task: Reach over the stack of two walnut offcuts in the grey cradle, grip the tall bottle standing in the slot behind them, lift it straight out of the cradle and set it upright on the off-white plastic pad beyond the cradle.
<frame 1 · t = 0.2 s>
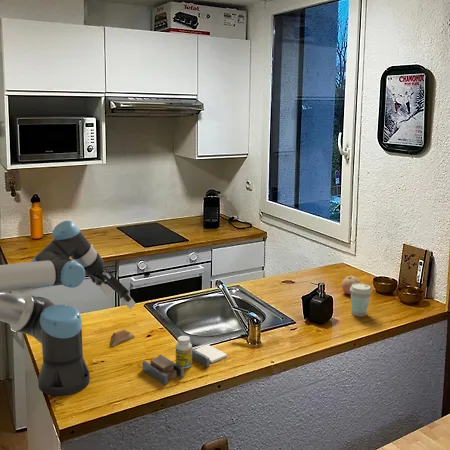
hand: (121, 300, 193), 15 cm above the counter, tool tilted 35°, fingers open, 13 cm apart
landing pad: (209, 354, 188), on the counter
offcut lower: (162, 374, 175), on the counter, touching offcut upper
grey cradle: (176, 368, 178), on the counter
offcut upper: (162, 367, 174), point 2 cm above the counter, touching offcut lower
supplement bottle: (183, 365, 180), on the counter
coffee cup: (358, 314, 225), on the counter
shard: (123, 341, 198), on the counter
fruit: (350, 294, 248), on the counter
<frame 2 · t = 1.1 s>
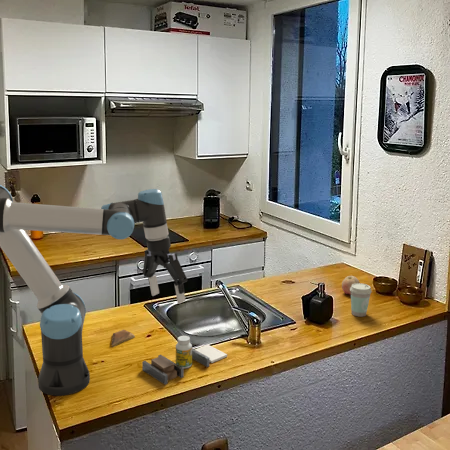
hand: (168, 298, 182), 21 cm above the counter, tool pointing down, fingers open, 13 cm apart
nothing on the counter moved.
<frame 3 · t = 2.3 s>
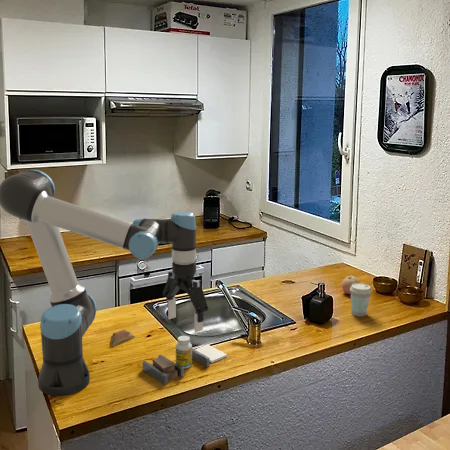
hand: (185, 324, 177), 14 cm above the counter, tool pointing down, fingers open, 13 cm apart
offcut lower: (164, 374, 175), on the counter
offcut upper: (163, 367, 174), point 2 cm above the counter
everything else where it was.
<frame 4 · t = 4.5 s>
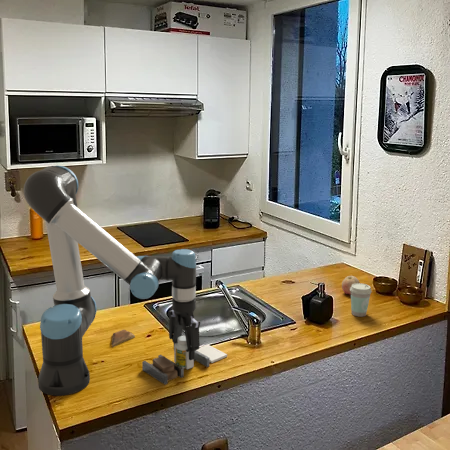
hand: (183, 364, 180), 0 cm above the counter, tool pointing down, fingers closed on supplement bottle, 5 cm apart
offcut lower: (163, 374, 175), on the counter, touching offcut upper
offcut upper: (163, 367, 174), point 2 cm above the counter, touching offcut lower
supplement bottle: (183, 365, 180), on the counter, touching gripper
everything else where it was.
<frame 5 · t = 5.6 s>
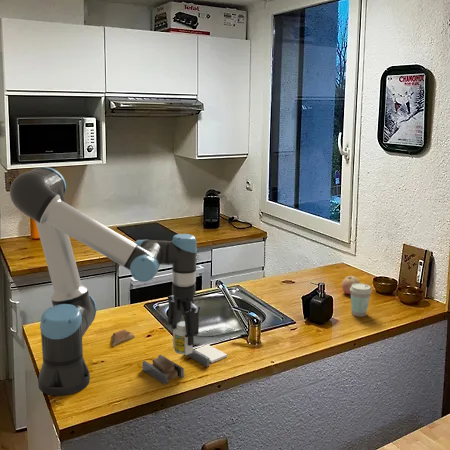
hand: (182, 349, 179), 5 cm above the counter, tool pointing down, fingers closed on supplement bottle, 5 cm apart
supplement bottle: (182, 351, 179), point 5 cm above the counter, touching gripper
everything else where it was.
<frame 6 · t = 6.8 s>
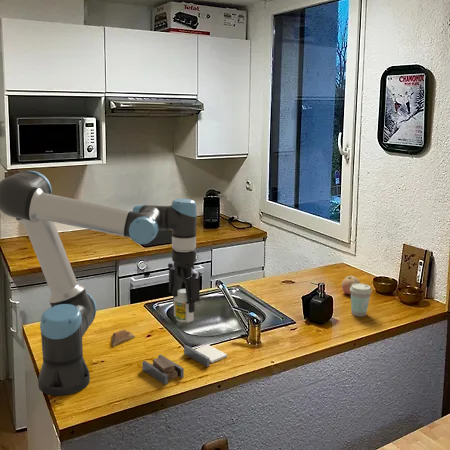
hand: (183, 317, 176), 17 cm above the counter, tool pointing down, fingers closed on supplement bottle, 5 cm apart
supplement bottle: (183, 319, 177), point 16 cm above the counter, touching gripper
everything else where it was.
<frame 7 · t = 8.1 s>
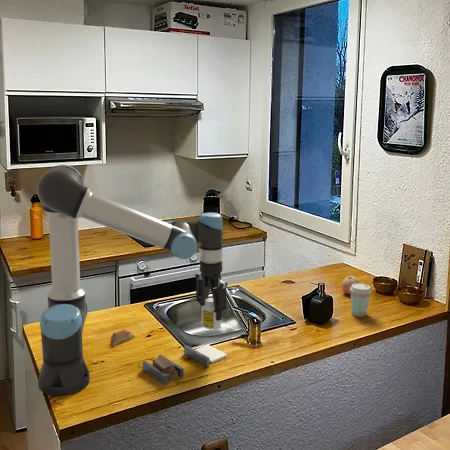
hand: (210, 325, 185), 11 cm above the counter, tool pointing down, fingers closed on supplement bottle, 5 cm apart
supplement bottle: (211, 326, 186), point 10 cm above the counter, touching gripper
everything else where it was.
when the fingers open (3 cm above the counter, at t = 10.3 s): supplement bottle drops 2 cm, resting on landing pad.
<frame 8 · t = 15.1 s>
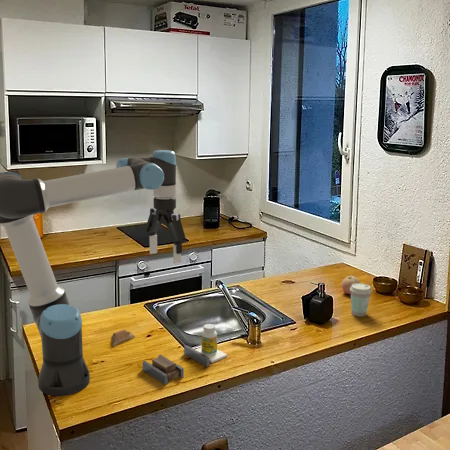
hand: (165, 257, 188), 32 cm above the counter, tool pointing down, fingers open, 13 cm apart
supplement bottle: (209, 352, 188), point 1 cm above the counter, touching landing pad
everything else where it was.
at the end: supplement bottle inside the target area on the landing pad (0.3 cm from its centre), point 0.6 cm above the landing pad's base; supplement bottle tilted 0°; offcut upper moved 0.8 cm from its start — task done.
